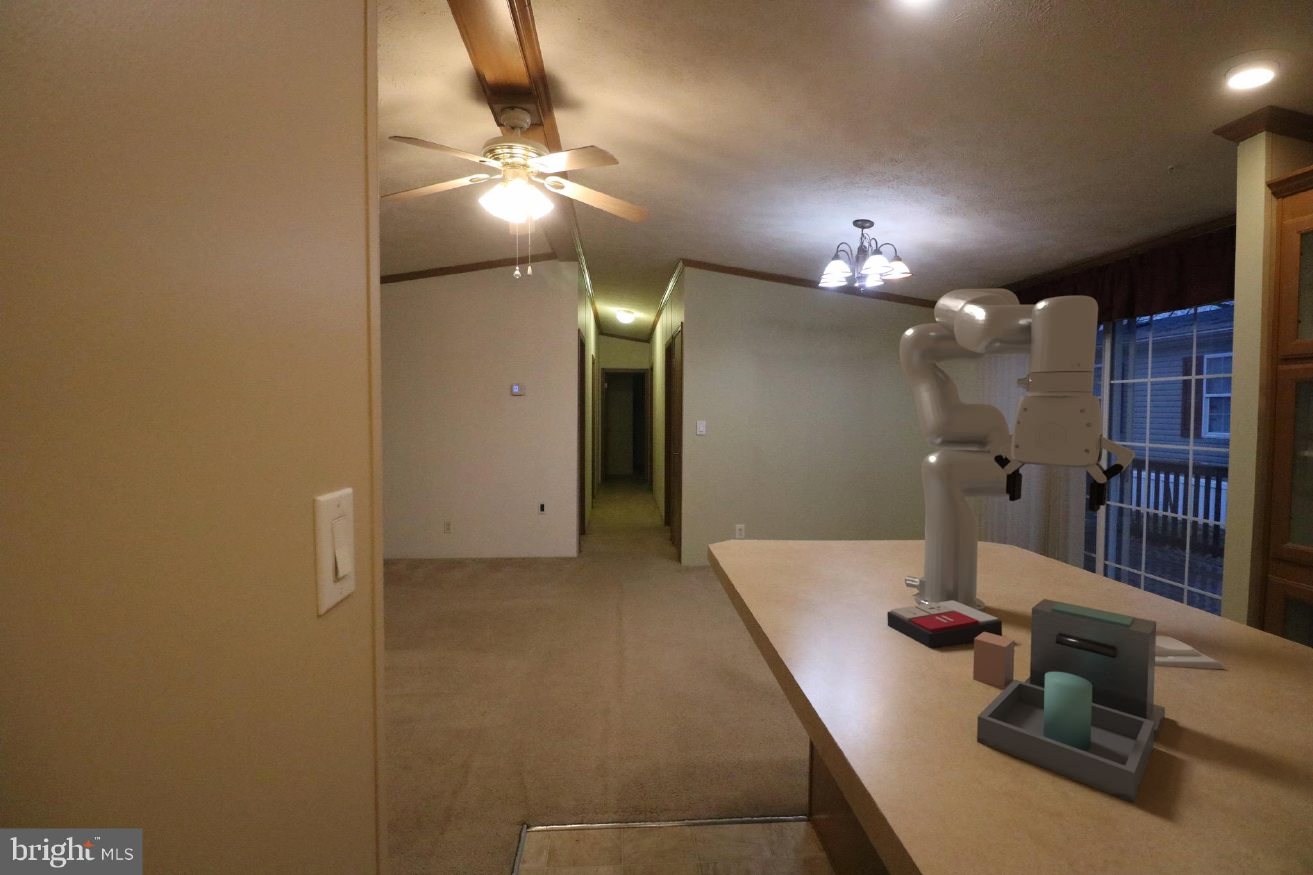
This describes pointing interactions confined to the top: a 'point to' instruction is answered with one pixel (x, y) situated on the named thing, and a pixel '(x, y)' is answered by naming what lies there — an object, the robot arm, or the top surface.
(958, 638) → the calculator
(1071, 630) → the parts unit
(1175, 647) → the light switch
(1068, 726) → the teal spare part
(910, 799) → the top surface
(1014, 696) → the parts tray
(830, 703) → the top surface
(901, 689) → the top surface
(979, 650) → the terracotta block
